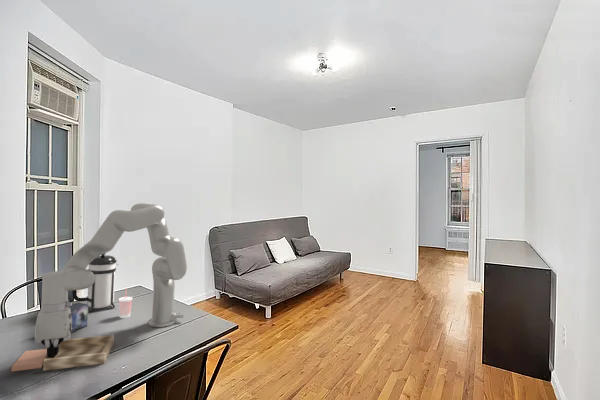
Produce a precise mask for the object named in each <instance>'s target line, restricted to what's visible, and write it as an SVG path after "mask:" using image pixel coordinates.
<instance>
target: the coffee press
mask: <svg viewBox="0 0 600 400" xmlns="http://www.w3.org/2000/svg"><path fill="white" fill-rule="evenodd" d="M119 265H120V263H118V262H117V258H116V257H114V256H113V255H107V253H105V254H102V255H100V256H98V257H96V258H95V259H94V260H92V261H91V262H90V264H89V265H88V268H87V270H90V271H91V272H93V274H94V275H95V281H94V283H93V284H92V285H91V286H90V287H88V288H87V296H86V297H79V296H78V293H77V292H78V290H71V291H72V292H71V293H72V299H73V300H75V301H77V302H86V304H88V308H89V309H88V312H89V313H94V312H95V310H96V309H102V308H107V307H109V308H110V309H112V310H113V309H115V308H116V306H115V304H114V302H115V285H116V282H115V281H116V271H117V267H116V266H119Z"/></svg>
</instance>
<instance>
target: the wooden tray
mask: <svg viewBox="0 0 600 400" xmlns="http://www.w3.org/2000/svg"><path fill="white" fill-rule="evenodd" d="M114 343H115V334H112V335H111V334H110V335H99V336H89V337H79V338H70V339H69V340H65V341H62V342H61V343H60V344H59V348H58V354H57V355H56V356H55V357H54V358H48V359H45V360H44V363H43V366H42V368H43V370H42V371H50V370H62V369H68V368H69V369H70V368H78V367H85V366H96V365H103V364H105V363H106V361H107V359H108V357H109V354H110V353H111V351H112V348H113V346H114Z"/></svg>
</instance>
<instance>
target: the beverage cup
mask: <svg viewBox="0 0 600 400" xmlns="http://www.w3.org/2000/svg"><path fill="white" fill-rule="evenodd" d="M127 290H128V288H127V287H126V288H125V292H124V293H125V295H124V296H122V297H119V298H118V302H119V305H118V307H119V308H118V310H119V311H118V312H119V318H120V319H127V318H130V317H131V311H132V304H133V303H132V302H133V297H132V296H127Z"/></svg>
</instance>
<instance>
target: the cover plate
mask: <svg viewBox="0 0 600 400" xmlns="http://www.w3.org/2000/svg"><path fill="white" fill-rule="evenodd" d="M45 359H48V356H47V348H40V349H35V350H34V349H31V350H25V351H24V353H22V354H21V356H20V357H19V358H18V359H17V360H16V361H15V362H14V363H13V365H11V372H18V371H27V370H34V369H36V370H37V369H41V368H43V363H44V360H45Z"/></svg>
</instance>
